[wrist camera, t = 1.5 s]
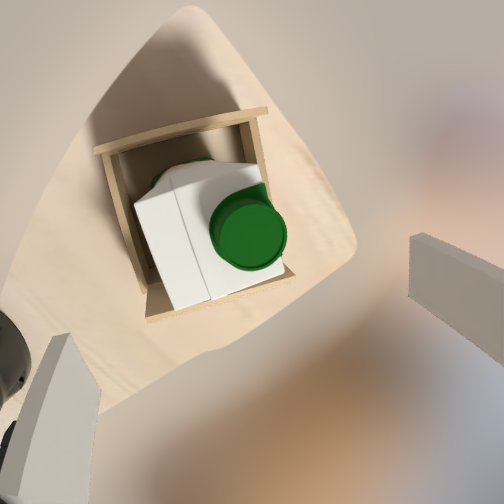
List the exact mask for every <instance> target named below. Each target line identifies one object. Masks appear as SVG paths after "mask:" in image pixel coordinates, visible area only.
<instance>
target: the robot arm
mask: <svg viewBox="0 0 504 504" xmlns="http://www.w3.org/2000/svg"><path fill="white" fill-rule="evenodd" d="M409 261H410V262H409V292H408V297H410V298H411V299H412V300H414V301H415V302H417V303H418V304H420V305H421V306H422V307H424V308H425V309H427V310H428V311H429V312H431V313H432V314H434V315H435V316H436V317H438V318H439V319H441V320H442V321H443V322H445V323H446V324H447V325H449V326H450V327H451V328H453V329H454V330H456V331H457V332H458V333H460V334H461V335H462V336H464V337H465V338H466V339H468V340H469V341H470V342H472V343H473V344H475V345H476V346H477V347H478V348H480V349H481V350H482V351H484V352H485V353H486V354H488V355H489V356H490V357H491V358H493V359H494V360H495V361H497V362H498V363H499V364H501V365H502V366H503V367H504V270H503V269H501V268H499V267H497V266H495V265H493V264H491V263H489V262H487V261H485V260H483V259H481V258H478V257H477V256H474V255H472V254H470V253H468V252H466V251H464V250H461V249H459V248H457V247H455V246H453V245H450V244H448V243H446V242H444V241H441V240H439V239H437V238H434V237H432V236H430V235H428V234H425V233H420V234H417V235H414V236H411V237H410V260H409ZM30 370H31V357H30V353H29V349H28V347H27V344H26V342H25V340H24V338H23V337H22V335H21V333H20V332H19V331H18V329H17V328H16V327H15V325H14V324H13V323H12V322H11V321H10V320H9V319H8V318H7V317H6V316H5V315H3V314H2V313H1V312H0V410H1V408H2V406H3V404H4V403H5V402H6V401H7V400H9V399H10V398H11V397H12V396H13V395H14V394H16V393H17V392H18V391H19V390H20V389H21V388H22V387H23V386H24V384H25V383H26V380H27V378H28V376H29V373H30ZM101 391H102V390H101V388H100V387H99V385H98V383H97V382H96V380H95V378H94V377H93V375H92V373H91V371H90V370H89V368H88V366H87V364H86V363H85V361H84V359H83V357H82V355H81V353H80V351H79V350H78V348H77V346H76V344H75V342H74V340H73V338H72V336H71V334H70V333H66V334H62V335H58V336H53V337H52V339H51V341H50V343H49V345H48V347H47V350H46V352H45V354H44V356H43V358H42V360H41V363H40V365H39V367H38V369H37V372H36V374H35V376H34V379H33V381H32V383H31V386H30V388H29V391H28V393H27V396H26V398H25V401H24V403H23V406H22V408H21V411H20V414H19V416H18V419H17V421H13V422H12V424H11V425H10V426H9V428H8V429H7V430H6V432H5V433H4V436H3V439H2V442H1V445H0V446H1V448H0V504H88V503H89V487H90V475H91V463H92V454H93V446H94V438H95V429H96V423H97V416H98V409H99V403H100V397H101Z"/></svg>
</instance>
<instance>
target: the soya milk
mask: <svg viewBox="0 0 504 504" xmlns="http://www.w3.org/2000/svg"><path fill="white" fill-rule="evenodd" d="M134 207H135V210H136V213H137V216H138V219H139V222H140V224H141V227H142V230H143V233H144V235H145V238H146V241H147V243H148V246H149V249H150V251H151V254H152V256H153V259H154V262H155V264H156V267H157V269H158V272H159V274H160V277H161V279H162V281H163V284H164V286H165V289H166V291H167V293H168V296H169V298H170V300H171V303H172V305H173V307H174V310H175V311H177V310H180V309H183V308H186V307H189V306H192V305H195V304H197V303H200V302H203V301H206V300H209V299H211V300H215V299H218V298H221V297H224V296H226V295H228V294H230V293H233V292H235V291H238V290H241V289H244V288H246V287H249V286H252V285H254V284H257V283H260V282H262V281H265V280H268V279H270V278H273V277H276V276H278V275H281V274H283V273H284V272H285V269H284V265H283V262H282V258H281V256H282V252H283V251H284V248H285V246H286V242H287V229H286V225H285V222H284V220H283V218H282V217H281V215H280V214H279V213H278V212H277V211H276V210H275V209H274V207H273V205H272V203H271V202H270V200H269V198H268V194H267V190H266V186H265V183H263V182H262V178H261V173H260V170H259V166H258V164H248V163H226V162H218V161H215V160H214V159H210V158H201V159H196V160H192V161H188V162H185V163H181V164H178V165H175V166H172V167H170V168H168V169H166V170H165V171H163V172H162V173H160V174H159V175H157V176H156V177H154V178H153V181H152V186H151V190H150V191H149V192H148V193H147V194H146V195H144V196H143V197H142V198H141V199H140V200H138V201H137V202H136V203H134Z"/></svg>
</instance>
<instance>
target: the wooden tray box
mask: <svg viewBox="0 0 504 504" xmlns="http://www.w3.org/2000/svg"><path fill="white" fill-rule="evenodd" d="M264 114H268V108H267V106H265V107H259V108H252V109H246V110H240V111H235V112H229V113H224V114H218V115H213V116H208V117H204V118H199V119H194V120H190V121H185V122H181V123H177V124H173V125H169V126H165V127H161V128H157V129H153V130H149V131H145V132H142V133H138V134H135V135H131V136H128V137H124V138H121V139H117V140H114V141H111V142H108V143H105V144H101V145H98V146H95V147H93V150H94V154H95V155H96V154H101V155H102V160H103V164H104V168H105V172H106V176H107V180H108V184H109V188H110V192H111V195H112V199H113V203H114V206H115V210H116V214H117V217H118V220H119V224H120V227H121V231H122V234H123V237H124V240H125V244H126V247H127V250H128V253H129V256H130V259H131V262H132V265H133V268H134V271H135V274H136V277H137V280H138V283H139V286H140V288H141V291H142V294H145V293H147V301H146V313H145V319H146V321H147V323H150V322H154V321H158V320H162V319H166V318H169V317H173V316H177V315H181V314H184V313H188V312H192V311H195V310H199V309H203V308H206V307H210V306H213V305H217V304H221V303H224V302H228V301H231V300H235V299H238V298H242V297H245V296H248V295H252V294H255V293H259V292H262V291H265V290H269V289H272V288H276V287H279V286H282V285H285V284H289V283H292V282H295V281H296V275H295V274H294V273H293V272H292V271H291V270H290V269H289V268H288V267H287V266H286V265H285V264H284V263H283V265H284V269H285V272H284V273H283V274H281V275H278V276H276V277H273V278H270V279H268V280H265V281H262V282H260V283H257V284H254V285H252V286H249V287H246V288H244V289H241V290H238V291H235V292H233V293H230V294H228V295H226V296H224V297H221V298H218V299H215V300H211V299H209V300H206V301H203V302H200V303H197V304H195V305H192V306H189V307H186V308H183V309H180V310H177V311H175V310H174V307H173V305H172V303H171V300H170V298H169V296H168V293H167V291H166V289H165V286H164V284H163V281H162V279H161V277H160V274H159V272H158V269H157V267H153V268H150V269H149V267H148V264H147V261H146V257H145V254H144V251H143V248H142V244H141V241H140V238H139V234H138V231H137V228H136V224H135V221H134V217H133V214H132V210H131V206H130V203H129V199H128V195H127V191H126V187H125V184H124V180H123V176H122V172H121V167H120V163H119V159H118V155H117V154H118V153H122V152H125V151H128V150H132V149H135V148H139V147H142V146H146V145H150V144H153V143H157V142H161V141H165V140H169V139H173V138H177V137H181V136H185V135H190V134H194V133H198V132H203V131H207V130H212V129H217V128H222V127H227V126H232V125H237V124H239V129H240V135H241V140H242V145H243V150H244V155H245V160H246V163H248V164H258V166H259V170H260V173H261V178H262V182H263V183H265V186H266V190H267V194H268V198H269V200H270V202H271V203H272V199H271V193H270V188H269V182H268V177H267V171H266V166H265V160H264V155H263V149H262V144H261V139H260V134H259V128H258V123H257V118H256V117H258V116H261V115H264Z"/></svg>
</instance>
